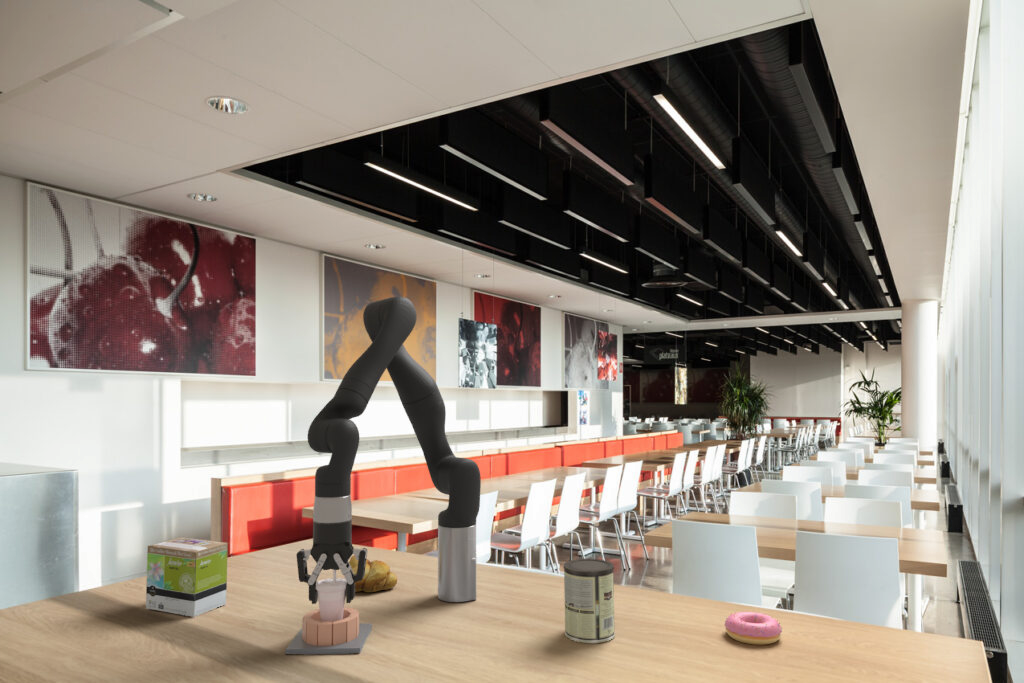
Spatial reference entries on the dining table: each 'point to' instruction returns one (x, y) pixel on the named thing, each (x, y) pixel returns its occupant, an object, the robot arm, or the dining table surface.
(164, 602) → the tea box
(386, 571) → the bread roll
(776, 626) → the doughnut
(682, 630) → the dining table surface
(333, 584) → the smoothie
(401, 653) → the dining table surface
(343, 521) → the robot arm
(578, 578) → the coffee can
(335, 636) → the collar
